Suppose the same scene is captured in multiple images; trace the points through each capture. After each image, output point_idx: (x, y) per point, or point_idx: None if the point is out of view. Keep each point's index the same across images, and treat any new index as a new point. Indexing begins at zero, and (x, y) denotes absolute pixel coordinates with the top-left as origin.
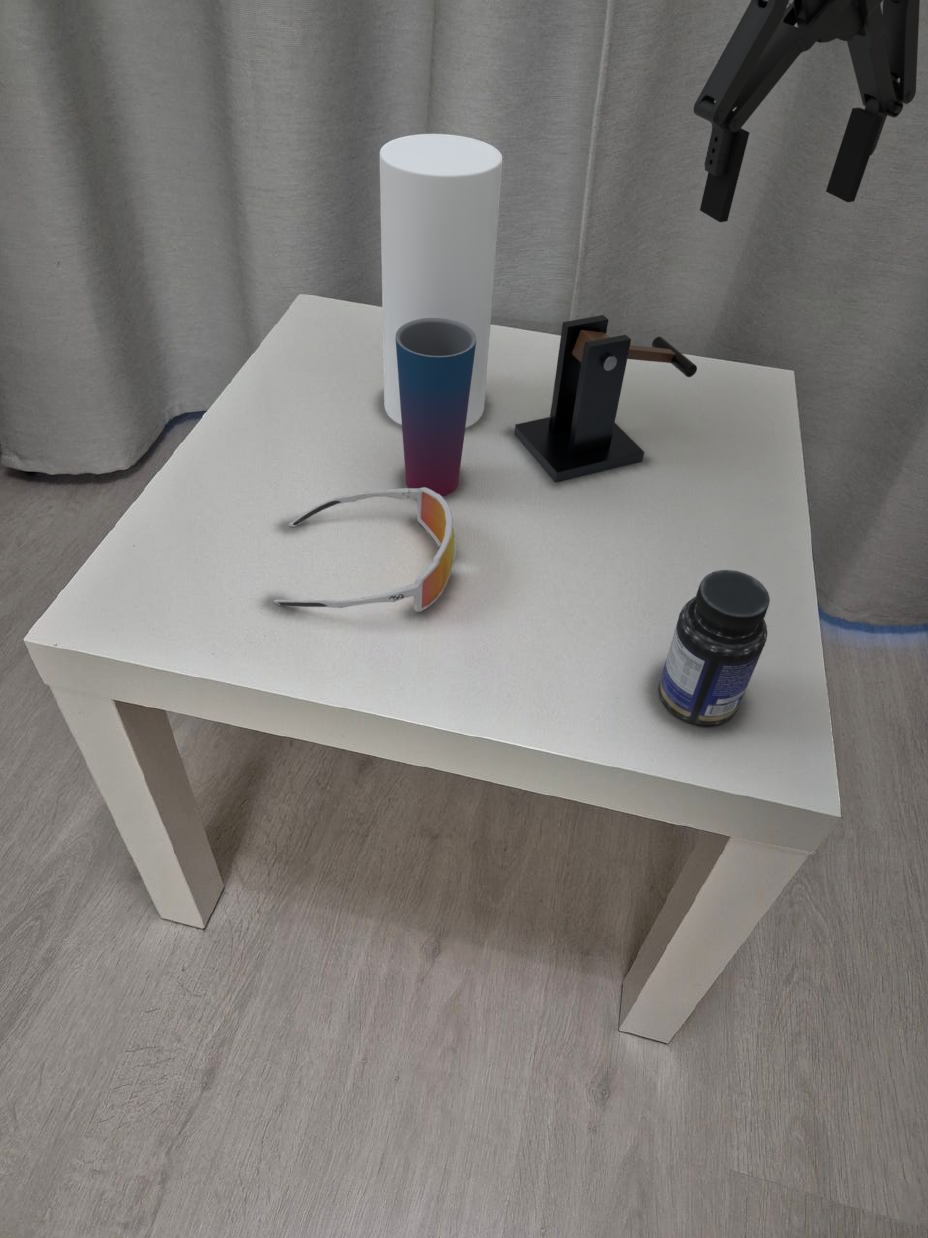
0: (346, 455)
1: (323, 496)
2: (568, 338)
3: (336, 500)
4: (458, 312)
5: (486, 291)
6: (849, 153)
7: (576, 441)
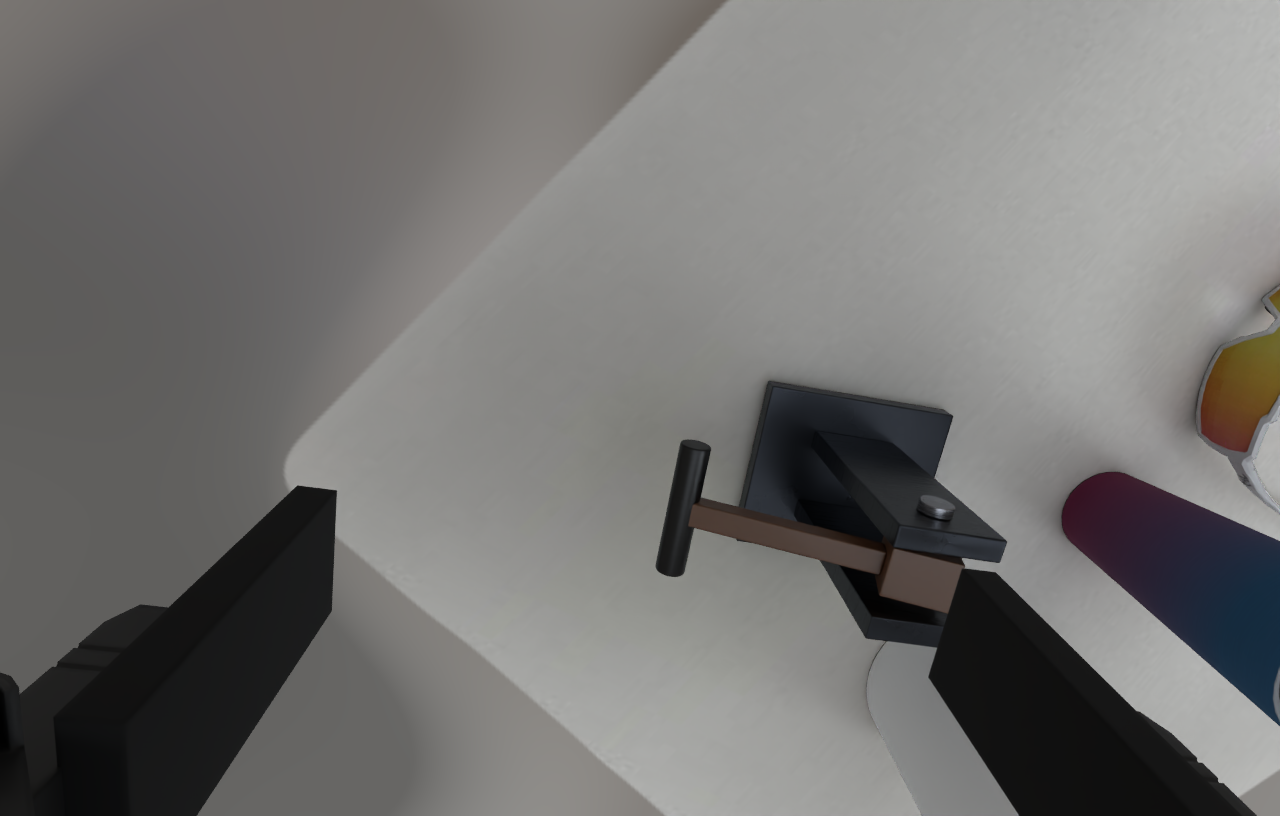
0: (1157, 630)
1: None
2: None
3: None
4: None
5: None
6: (253, 664)
7: (901, 452)
